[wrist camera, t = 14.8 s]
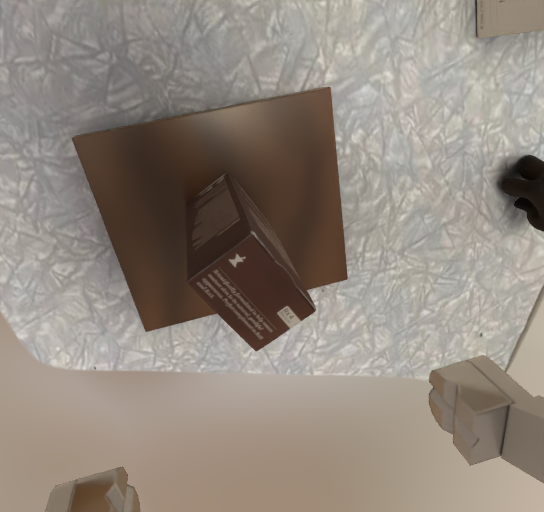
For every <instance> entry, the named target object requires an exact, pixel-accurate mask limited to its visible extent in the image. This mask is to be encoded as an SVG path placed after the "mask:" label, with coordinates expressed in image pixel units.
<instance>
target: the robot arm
mask: <svg viewBox="0 0 544 512" xmlns="http://www.w3.org/2000/svg"><path fill="white" fill-rule="evenodd" d="M429 382H430V383H431V385H432V386H433V389H432V390H431V391H430V393H429V405H430V408H431V412H432V414H433V416H434V418H435V419H436V421H437V423H438V424H439V425H440V427H441V428H442V429H443V430H445V431H447V432H449V433H451V434H453V444H454V445H455V446H456V448H457V449H458V450H459V452H460V453H461V454H462V455H463V456H464V458H465V459H466V461H467V462H468V463H469V464H470V465H474V464H477V463H480V462H483V461H486V460H489V459H493V458H496V457H499V456H501V458H502V459H504V460H506V461H507V462H509V463H511V464H512V465H514V466H516V467H518V468H519V469H521V470H523V471H524V472H526V473H527V474H529V475H531V476H533V477H534V478H536V479H537V480H539V481H541V482H543V483H544V397H541V396H536V397H533V396H532V395H531V394H529V393H528V392H527V391H526V390H525V389H524V388H523V387H522V386H520V385H519V384H518V383H517V382H516V381H514V379H512V378H511V377H510V376H509V375H508V374H507V373H506V372H504V371H503V370H502V369H501V368H500V367H499V366H498V365H496V364H495V363H494V362H493V361H492V360H491V359H490V358H488V357H487V356H484V355H481V356H478V357H475V358H471V359H468V360H465V361H461V362H458V363H454V364H451V365H448V366H445V367H442V368H439V369H436V370H433V371H431V373H430V376H429ZM127 480H128V474H127V473H126V471H125V469H124V467H119V468H115V469H112V470H108V471H105V472H101V473H97V474H94V475H90V476H87V477H83V478H79V479H76V480H73V481H69V482H66V483H63V484H59V485H56V486H55V487H54V489H53V490H52V492H51V493H50V497H49V500H48V503H47V507H46V510H45V512H140V503H139V499H138V495H137V492H136V490H135V488H134V487H133V486H130V485H128V484H127Z"/></svg>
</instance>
